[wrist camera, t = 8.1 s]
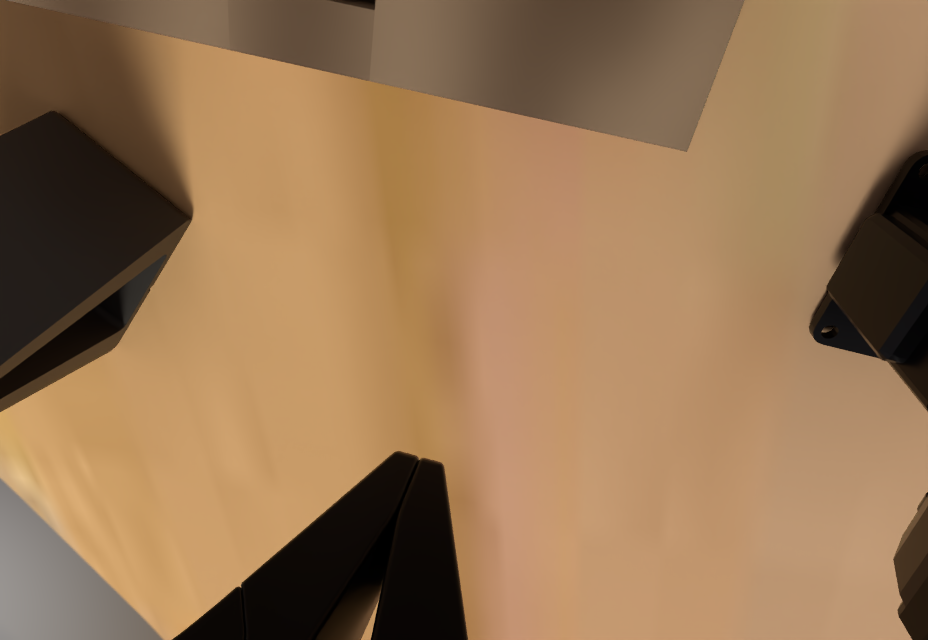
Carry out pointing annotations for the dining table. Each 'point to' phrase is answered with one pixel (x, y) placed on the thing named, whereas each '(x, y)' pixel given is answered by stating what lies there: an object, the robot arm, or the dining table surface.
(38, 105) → the dining table surface
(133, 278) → the phone stand
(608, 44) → the walnut block
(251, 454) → the dining table surface
